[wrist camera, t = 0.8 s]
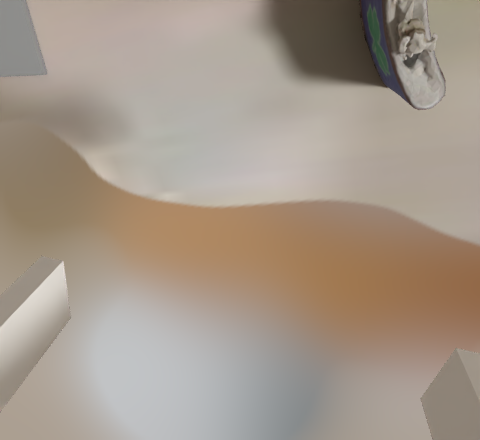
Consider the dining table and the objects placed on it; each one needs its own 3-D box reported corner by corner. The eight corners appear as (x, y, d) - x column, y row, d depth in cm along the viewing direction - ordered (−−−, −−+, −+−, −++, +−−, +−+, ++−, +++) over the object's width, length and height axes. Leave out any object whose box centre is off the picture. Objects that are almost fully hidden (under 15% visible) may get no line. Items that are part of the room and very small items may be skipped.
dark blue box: (414, 81, 31) (460, 109, 22) (378, 94, 32) (409, 127, 23) (389, -40, 27) (433, -68, 18) (350, -21, 28) (372, -38, 19)
